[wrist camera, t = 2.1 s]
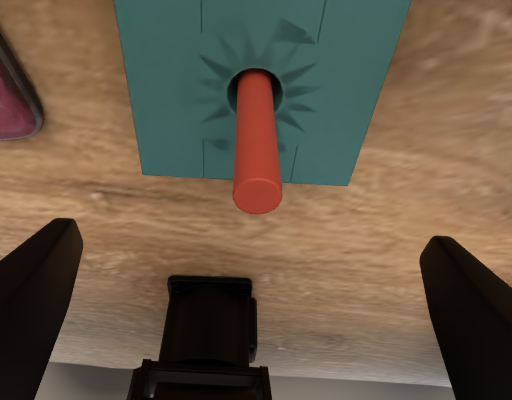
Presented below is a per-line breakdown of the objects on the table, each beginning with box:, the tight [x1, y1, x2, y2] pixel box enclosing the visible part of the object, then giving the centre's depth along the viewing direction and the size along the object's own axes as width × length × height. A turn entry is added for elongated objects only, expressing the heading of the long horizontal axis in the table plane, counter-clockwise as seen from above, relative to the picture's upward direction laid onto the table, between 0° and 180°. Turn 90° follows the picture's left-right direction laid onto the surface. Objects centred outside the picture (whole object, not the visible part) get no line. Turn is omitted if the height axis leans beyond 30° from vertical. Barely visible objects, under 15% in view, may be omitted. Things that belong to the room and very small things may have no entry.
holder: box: [114, 0, 412, 186], centre depth 16 cm, size 10×9×3 cm
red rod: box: [233, 68, 282, 214], centre depth 13 cm, size 1×1×9 cm
